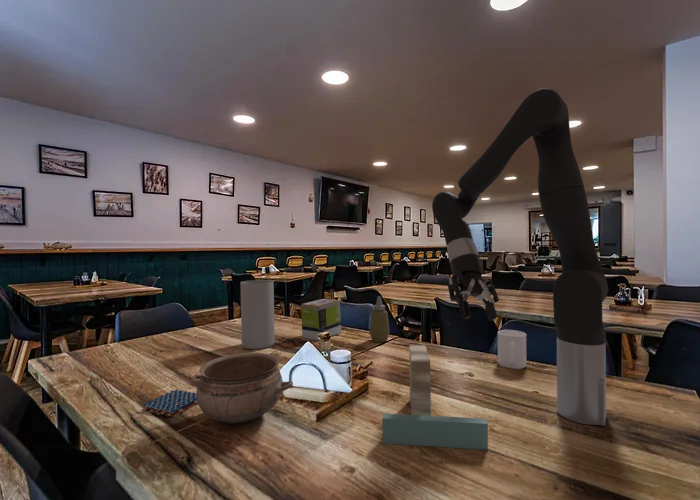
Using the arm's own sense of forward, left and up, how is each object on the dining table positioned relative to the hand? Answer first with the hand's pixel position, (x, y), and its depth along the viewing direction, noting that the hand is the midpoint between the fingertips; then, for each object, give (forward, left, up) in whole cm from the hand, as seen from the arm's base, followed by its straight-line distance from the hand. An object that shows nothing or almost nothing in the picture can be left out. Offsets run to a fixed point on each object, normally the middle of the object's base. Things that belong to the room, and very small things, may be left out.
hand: (480, 318), depth 86 cm
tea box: (+75, -25, -21) cm, 82 cm away
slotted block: (+10, +13, -21) cm, 26 cm away
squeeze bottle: (+50, -32, -21) cm, 63 cm away
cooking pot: (+42, +39, -21) cm, 61 cm away
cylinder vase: (+86, 0, -21) cm, 89 cm away
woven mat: (+61, +45, -22) cm, 79 cm away
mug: (0, -31, -21) cm, 38 cm away
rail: (+2, +23, -21) cm, 31 cm away
